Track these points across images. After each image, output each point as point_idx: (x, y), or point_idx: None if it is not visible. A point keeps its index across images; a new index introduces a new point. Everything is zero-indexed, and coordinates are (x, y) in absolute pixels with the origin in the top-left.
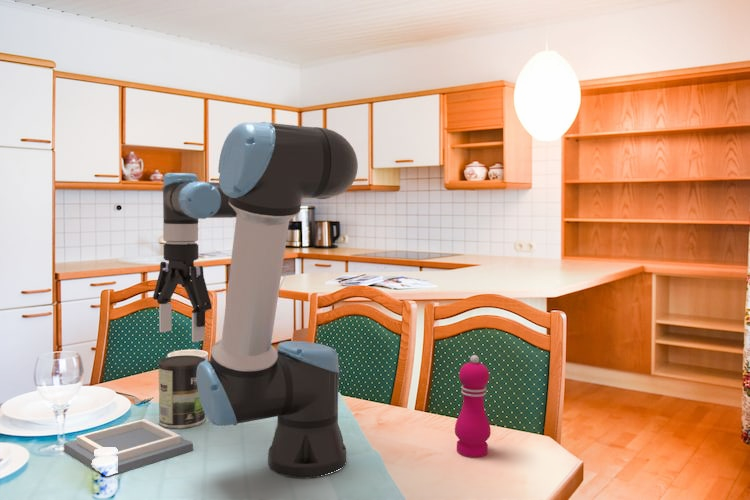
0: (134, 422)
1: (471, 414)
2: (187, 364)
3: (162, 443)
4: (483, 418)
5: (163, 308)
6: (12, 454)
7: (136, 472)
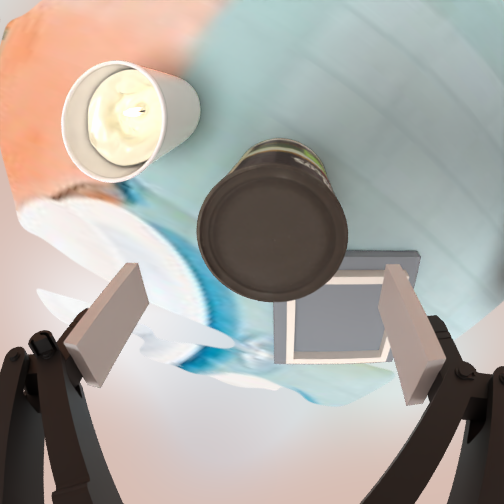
0: None
1: None
2: (323, 250)
3: None
4: None
5: (104, 364)
6: (243, 384)
7: None
